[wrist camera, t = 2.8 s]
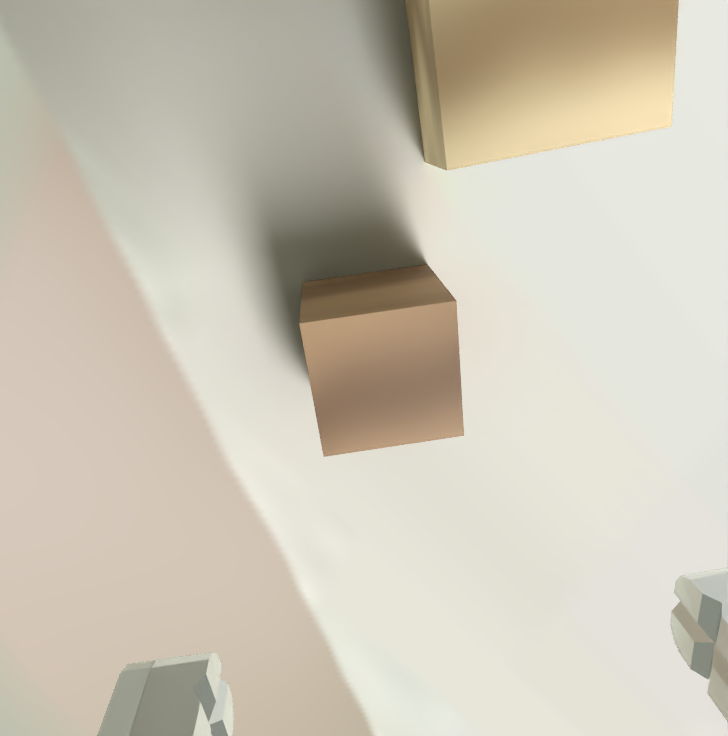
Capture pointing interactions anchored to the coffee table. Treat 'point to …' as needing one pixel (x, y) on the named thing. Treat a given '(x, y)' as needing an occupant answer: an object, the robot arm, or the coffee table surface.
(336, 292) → the walnut block
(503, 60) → the oak base block
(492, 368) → the coffee table surface
